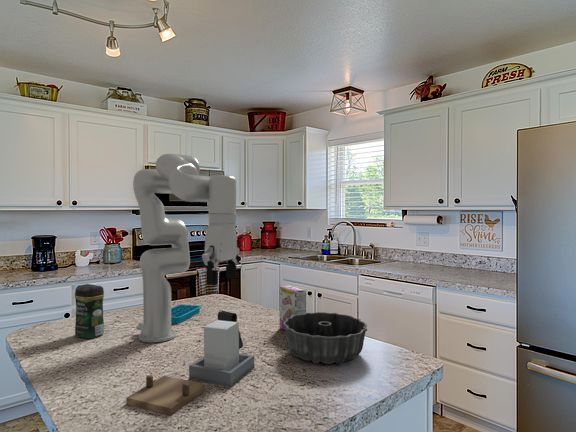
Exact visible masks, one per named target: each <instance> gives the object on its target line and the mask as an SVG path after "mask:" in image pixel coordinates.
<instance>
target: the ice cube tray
mask: <svg viewBox="0 0 576 432" xmlns="http://www.w3.org/2000/svg"><path fill="white" fill-rule="evenodd" d="M201 308H202V305H198V304H197V305H195V304H182V303H181V304H177V305H175V306H171V324H181V323H183V322H185V321H186V320H189V319H190V318H192V317H194V316H196V315H197V314H199V313H200V309H201Z"/></svg>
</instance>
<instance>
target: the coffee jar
mask: <svg viewBox="0 0 576 432" xmlns="http://www.w3.org/2000/svg"><path fill="white" fill-rule="evenodd" d="M104 297H105V291H104V287H103V286H102V285H96V284H89V283H86V284H80V285H77V287H76V288H75V291H74V300H75V328H74V331H75V332H74V335H75V337H78V338H82V339H85V340H89V339H96V338H99V337H101V336H103V334H104V333H105V322H104Z"/></svg>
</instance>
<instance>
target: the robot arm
mask: <svg viewBox="0 0 576 432" xmlns="http://www.w3.org/2000/svg"><path fill="white" fill-rule="evenodd" d="M200 172H201V165H200V163H199V161H198V159H197V158H196V157H194V156H192V155H186V154H179V153H178V154H177V153H165V154H161V155H159V157H158V158H157V159H156V161H155V168H145V169H140V170H138V171H137V172H136V173H135V174H134V176H133V181H132V188H133V192H134V196H135V200H136V202H137V205H138V208H139V215H140V216H139V217H140V219H139V220H140V229H141V236H142V241H143V242H144V244H146V245H149V246H165V245H167V246H168V245H171V247H167V248H166V247H164V248H152V249H148V250H146V251H144V252H143V253H142V254H141V255H140V257H139V258H140V259H139V266H140V272H141V279H142V298H143V299H142V303H143V305H142V308H143V309H142V310H143V311H142V312H143V313H142V318H143V319H142V320H143V322H139V323H138V325H136V327H135V329H136V330H138V331H140V334H139V335H138V340H139V341H141V342H143V343H148V344H149V343H152V344H153V343H162V342H166V341H167V342H168V341H170V340H172V339H174V338H175V337H176V335H177V333H176V330H174V329H172V323H171V308H172V287H171V284H170V282H169V281H168V280H167V279H166V277H165V276H168V275H175V274H182V273H185V272H186V271H188V270H189V268H190V265H191V256H190V254H191V253H190V244H189V235H188V230H187V226H186V223H184V222H183V221H182V219H179V218H167V217H166V213H165V212H166V211H165V205H164V204H163V202H162V201H161V199H159V197H158V196H157V195H156V194H170V195H171V194H172V195H174V196H175V197H177V198H178V199H179V200H182V201H184V202H190V203H194V202H195V203H197V202H198V203H199V202H200V203H208V225H207V227H206V233H205V240H204V252H203V254H202V255H201V258H202V261H203V266H204V268H205V271H206V274H205V275H206V276H205V277H206V282H205V283H206V285H209V286H217V285H218V282H219V281H218V274H219V273H218V272H219V271H218V269H217V268H218V266H219V264H220V263H223V262H226V264H225V278H226V279H229V280H236V279H237V265H238V259H239V253H240V250H241V249H240V248H239V247H238V240H237V229H236V225H237V180H236V178H235V177H234V176H232V175H223V174H222V175H212V176H210V175H209V176H208V175H200Z"/></svg>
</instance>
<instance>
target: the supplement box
mask: <svg viewBox="0 0 576 432" xmlns="http://www.w3.org/2000/svg"><path fill="white" fill-rule="evenodd" d="M239 331H240V327H239V322H238V321H237V322H230V321H221V320H218V319H217V320H214V321H212V322H210V323H208V324H206V325H205V326H203V357H204V367H209V368H215V369H220V370H226V371H230V370H232V369H233V368H235V367H236V366H237V365H239V353H240V348H239Z"/></svg>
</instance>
